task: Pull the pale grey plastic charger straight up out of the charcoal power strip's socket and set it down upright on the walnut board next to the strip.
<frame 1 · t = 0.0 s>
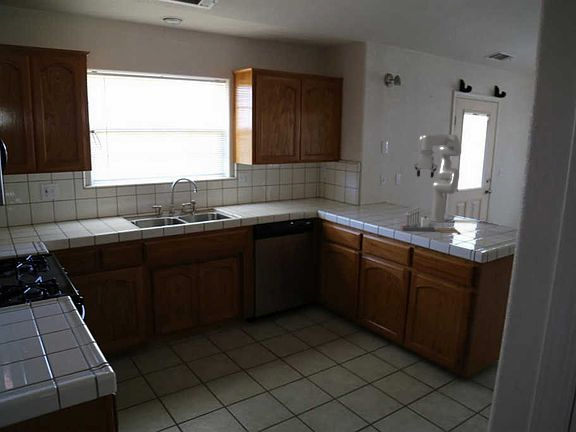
hand: (425, 177, 313), 37 cm above the countertop, tool pointing down, fingers open, 9 cm apart
test tube rack: (412, 226, 326), on the countertop
walnut board: (447, 231, 309), on the countertop
charger: (424, 230, 310), point 1 cm above the countertop, touching power strip
power strip: (417, 231, 310), on the countertop
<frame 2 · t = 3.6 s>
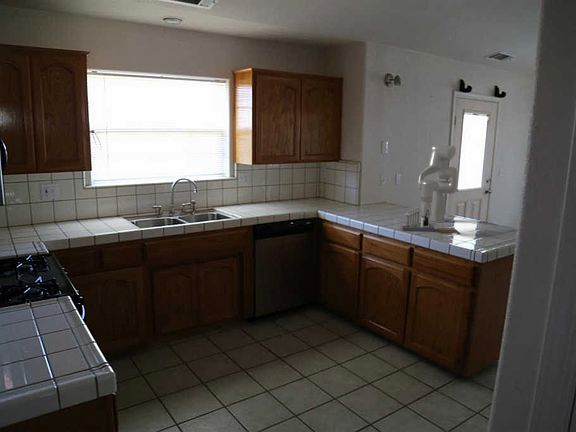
hand: (424, 224, 309), 5 cm above the countertop, tool pointing down, fingers closed on charger, 4 cm apart
charger: (424, 230, 310), point 1 cm above the countertop, touching gripper, power strip
everything else where it was.
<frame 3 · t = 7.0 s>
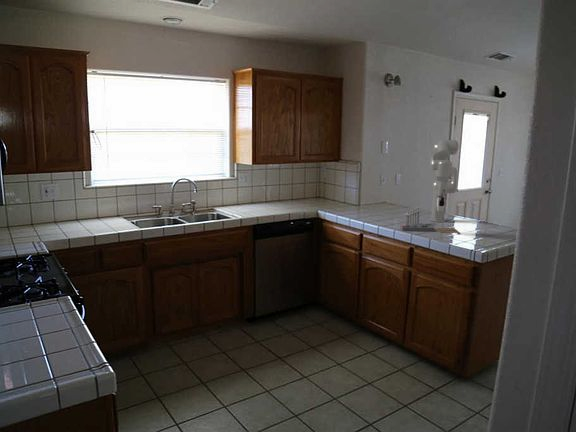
hand: (440, 205, 305), 19 cm above the countertop, tool pointing down, fingers closed on charger, 4 cm apart
charger: (440, 210, 306), point 15 cm above the countertop, touching gripper
everything else where it was.
when the fingers open (6 cm above the countertop, at t = 10.6 s): charger drops 1 cm, resting on walnut board.
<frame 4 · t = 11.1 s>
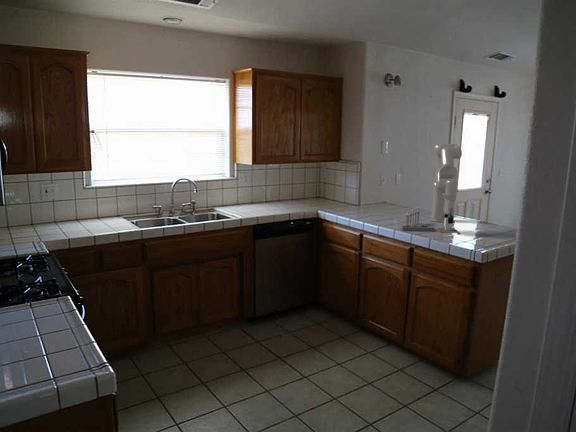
hand: (448, 222, 307), 7 cm above the countertop, tool pointing down, fingers open, 9 cm apart
charger: (447, 230, 309), point 1 cm above the countertop, touching walnut board
everything else where it was.
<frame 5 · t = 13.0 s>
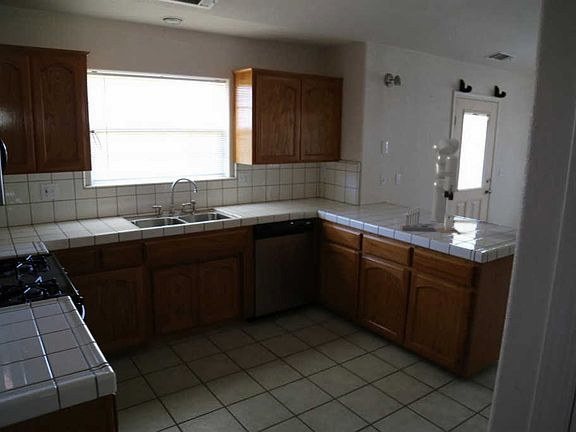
hand: (448, 198, 306), 23 cm above the countertop, tool pointing down, fingers open, 9 cm apart
nothing on the countertop moved.
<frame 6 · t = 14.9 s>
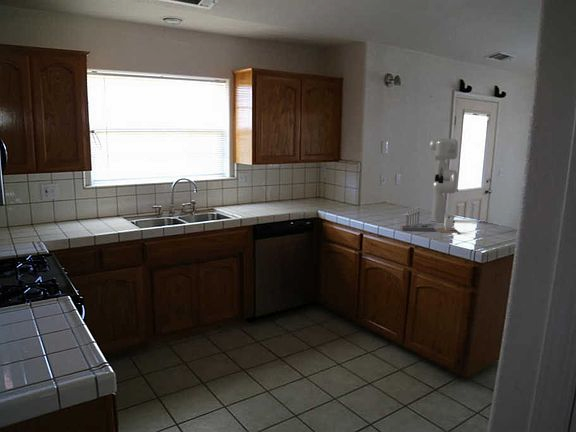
hand: (438, 182, 315), 33 cm above the countertop, tool pointing down, fingers open, 9 cm apart
nothing on the countertop moved.
at the end: charger inside the target area on the walnut board (0.1 cm from its centre), point 1.2 cm above the walnut board's base; charger tilted 0°; the gripper is holding nothing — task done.
